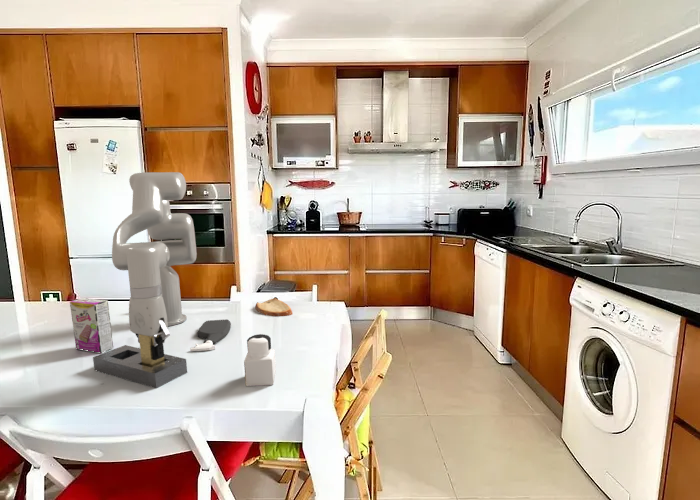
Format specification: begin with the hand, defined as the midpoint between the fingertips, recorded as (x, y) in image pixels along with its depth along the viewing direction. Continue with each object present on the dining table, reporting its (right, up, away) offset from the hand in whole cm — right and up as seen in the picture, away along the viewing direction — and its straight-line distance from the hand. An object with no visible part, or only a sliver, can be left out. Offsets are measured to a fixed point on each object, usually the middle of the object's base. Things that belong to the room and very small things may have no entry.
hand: (152, 356), depth 114 cm
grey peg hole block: (-5, -5, +4) cm, 8 cm away
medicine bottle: (+31, -6, -3) cm, 31 cm away
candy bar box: (-29, -3, +21) cm, 36 cm away
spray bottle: (+6, -2, +29) cm, 30 cm away
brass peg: (0, -2, 0) cm, 2 cm away
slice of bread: (+22, +3, +61) cm, 65 cm away
